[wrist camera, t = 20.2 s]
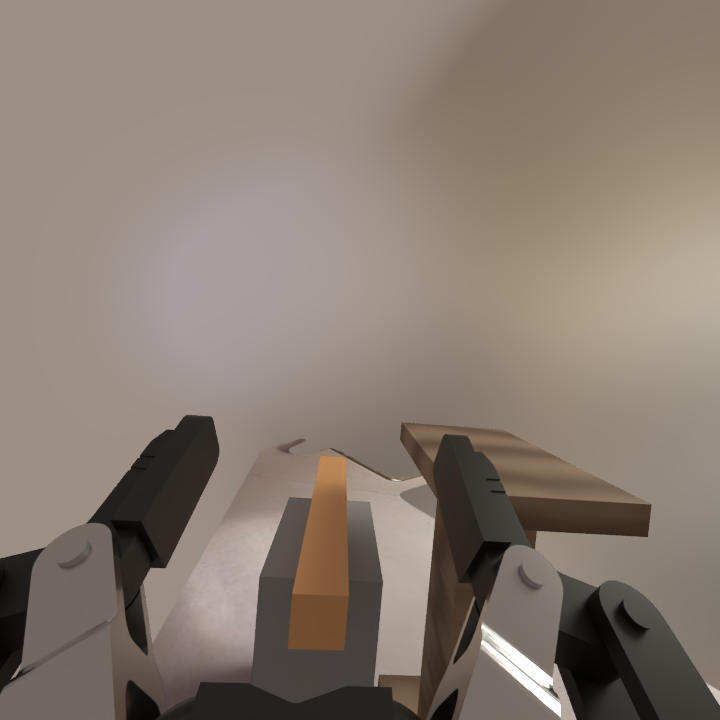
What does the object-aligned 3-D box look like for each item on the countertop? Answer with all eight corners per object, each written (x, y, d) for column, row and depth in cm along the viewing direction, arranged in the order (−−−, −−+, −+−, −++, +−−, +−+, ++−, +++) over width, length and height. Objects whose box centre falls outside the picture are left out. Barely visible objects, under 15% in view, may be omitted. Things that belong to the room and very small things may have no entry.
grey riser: (360, 825, 25) (382, 582, 25) (240, 825, 25) (259, 576, 24) (355, 663, 38) (369, 502, 38) (276, 661, 38) (289, 497, 37)
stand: (594, 1001, 19) (651, 504, 18) (407, 1007, 18) (457, 492, 17) (476, 693, 36) (502, 429, 35) (377, 691, 35) (401, 422, 34)
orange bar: (344, 650, 19) (348, 596, 19) (287, 648, 19) (292, 593, 18) (343, 481, 43) (345, 457, 43) (318, 480, 42) (320, 456, 42)
